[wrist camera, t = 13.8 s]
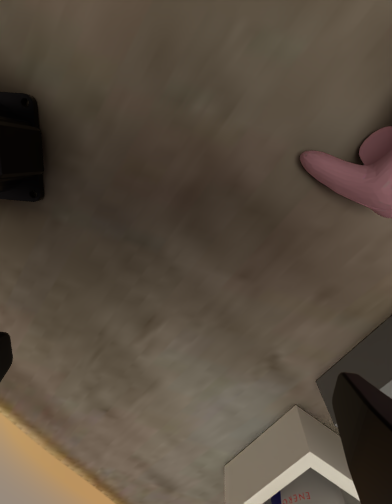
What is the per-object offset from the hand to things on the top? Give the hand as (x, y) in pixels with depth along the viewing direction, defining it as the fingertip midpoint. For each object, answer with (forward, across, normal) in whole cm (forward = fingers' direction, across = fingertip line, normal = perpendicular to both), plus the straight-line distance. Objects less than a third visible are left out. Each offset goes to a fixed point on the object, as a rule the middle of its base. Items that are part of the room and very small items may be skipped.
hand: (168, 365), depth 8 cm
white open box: (+13, -10, +19) cm, 25 cm away
